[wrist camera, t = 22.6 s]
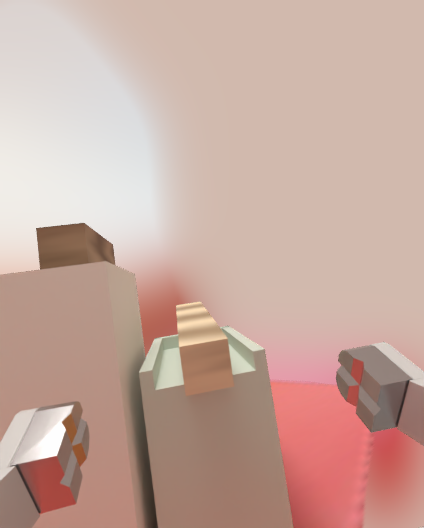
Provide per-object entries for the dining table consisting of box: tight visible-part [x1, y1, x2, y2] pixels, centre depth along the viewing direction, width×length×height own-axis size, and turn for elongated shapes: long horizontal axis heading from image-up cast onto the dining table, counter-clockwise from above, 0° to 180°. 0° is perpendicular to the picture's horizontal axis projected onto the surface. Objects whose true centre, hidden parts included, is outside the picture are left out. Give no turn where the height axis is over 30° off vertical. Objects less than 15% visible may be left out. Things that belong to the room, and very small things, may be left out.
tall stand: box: [0, 261, 158, 528], centre depth 25 cm, size 14×12×26 cm
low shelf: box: [139, 326, 294, 528], centre depth 29 cm, size 16×10×18 cm, turn 7°
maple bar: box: [176, 302, 234, 396], centre depth 30 cm, size 20×4×4 cm, turn 7°
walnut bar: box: [36, 223, 115, 270], centre depth 26 cm, size 10×4×4 cm, turn 7°
